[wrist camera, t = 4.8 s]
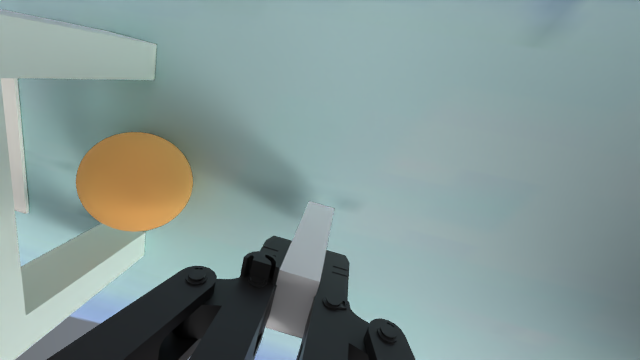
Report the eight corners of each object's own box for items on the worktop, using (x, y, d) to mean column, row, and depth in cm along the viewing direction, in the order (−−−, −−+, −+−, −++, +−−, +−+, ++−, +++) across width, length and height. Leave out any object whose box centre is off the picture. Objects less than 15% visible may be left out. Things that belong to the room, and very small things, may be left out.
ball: (122, 114, 18) (212, 136, 19) (120, 195, 20) (202, 214, 20) (41, 131, 13) (168, 161, 13) (48, 237, 15) (159, 262, 15)
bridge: (156, 44, 17) (-57, 3, 8) (144, 255, 22) (0, 371, 13) (107, 31, 17) (-153, -23, 8) (105, 244, 22) (-63, 350, 13)
